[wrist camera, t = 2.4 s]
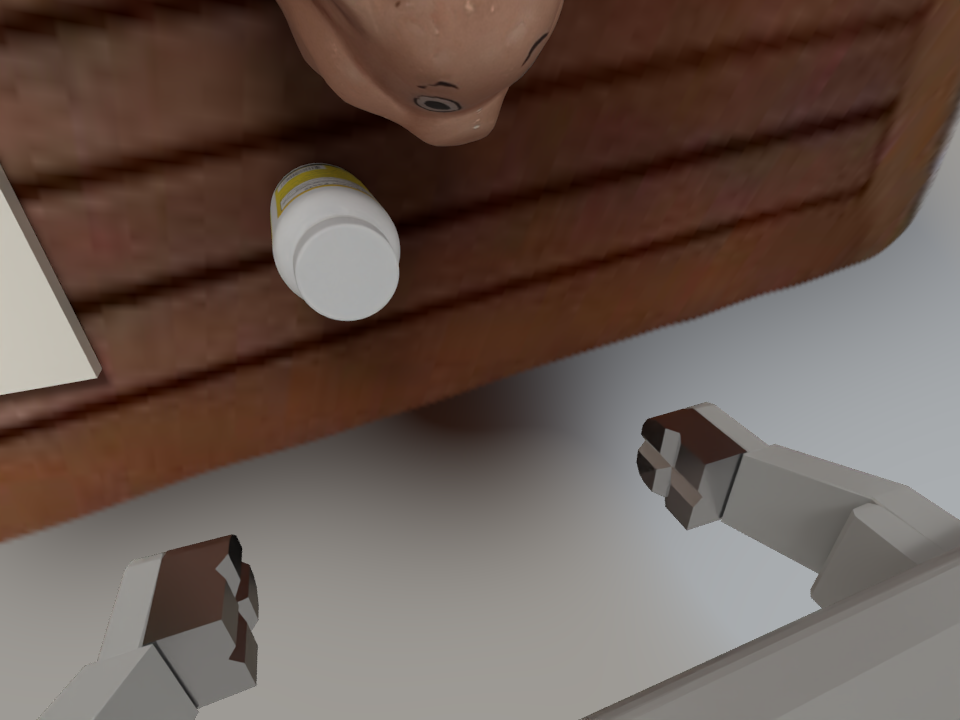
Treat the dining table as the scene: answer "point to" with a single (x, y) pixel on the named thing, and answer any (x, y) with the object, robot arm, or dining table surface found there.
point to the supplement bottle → (334, 242)
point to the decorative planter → (424, 57)
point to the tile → (35, 311)
